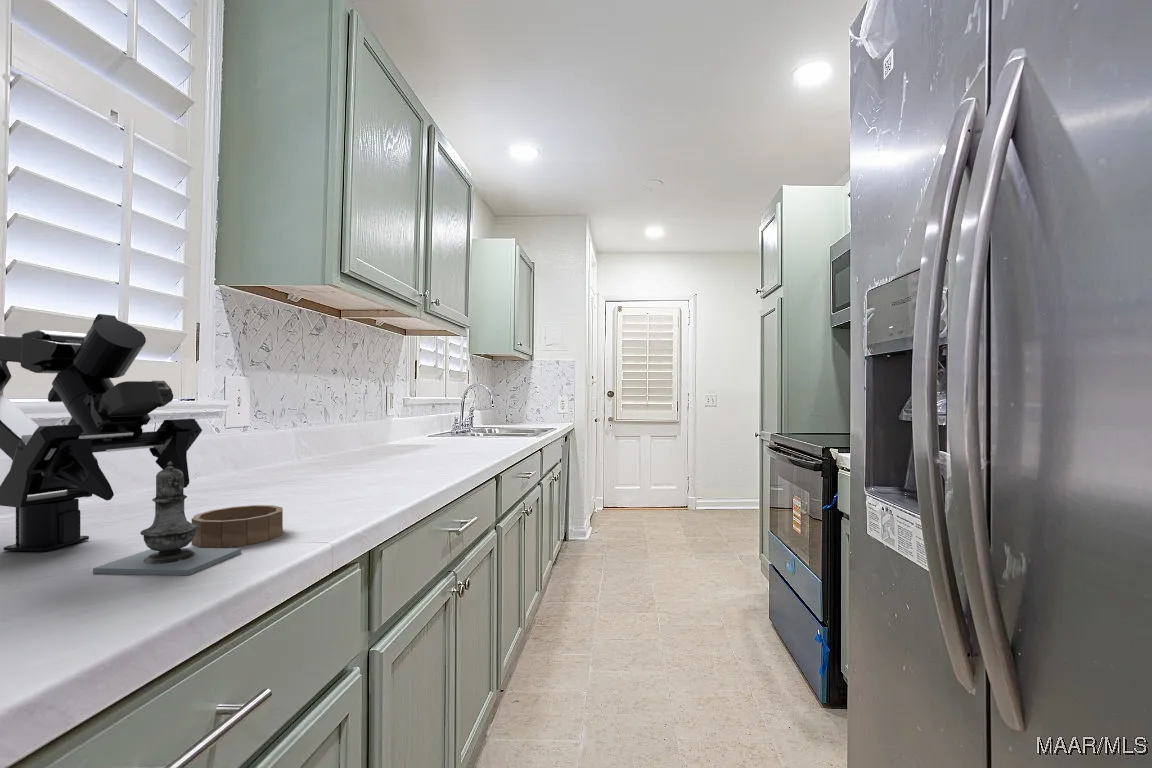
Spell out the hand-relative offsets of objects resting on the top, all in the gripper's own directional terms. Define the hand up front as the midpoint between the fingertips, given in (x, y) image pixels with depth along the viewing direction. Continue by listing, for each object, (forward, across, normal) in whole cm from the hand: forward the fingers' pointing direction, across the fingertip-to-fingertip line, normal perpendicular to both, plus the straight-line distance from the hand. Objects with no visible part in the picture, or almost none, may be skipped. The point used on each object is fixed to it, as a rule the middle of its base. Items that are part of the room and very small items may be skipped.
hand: (150, 491), depth 73 cm
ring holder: (+6, +12, +6) cm, 15 cm away
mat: (+9, 0, +3) cm, 9 cm away
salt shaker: (+8, 0, +3) cm, 9 cm away
